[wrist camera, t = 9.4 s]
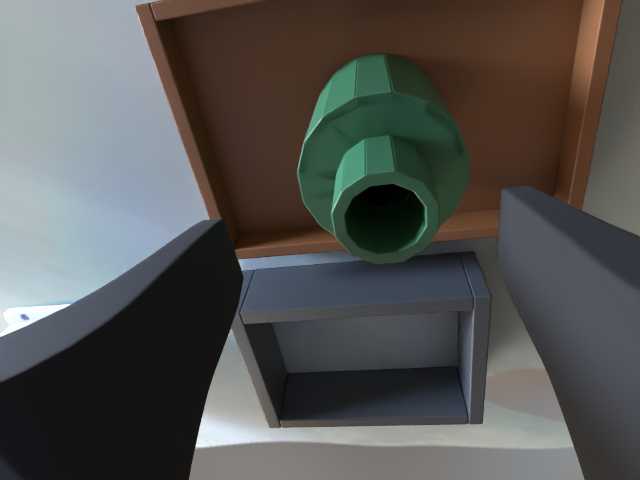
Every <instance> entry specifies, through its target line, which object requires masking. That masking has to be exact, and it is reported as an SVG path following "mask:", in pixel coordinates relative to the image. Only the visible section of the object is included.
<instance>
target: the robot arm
mask: <svg viewBox="0 0 640 480" xmlns="http://www.w3.org/2000/svg"><path fill="white" fill-rule="evenodd" d="M496 257H497V260H498V263H499V267H500V270H501V273H502V276H503V279H504V282H505V285H506V288H507V291H508V293H509V295H510V297H511V299H512V301H513V303H514V305H515V307H516V309H517V311H518V313H519V315H520V317H521V319H522V321H523V323H524V325H525V327H526V329H527V331H528V333H529V335H530V337H531V339H532V341H533V343H534V345H535V347H536V350H537V352H538V354H539V356H540V358H541V360H542V362H543V364H544V366H545V368H546V371H547V373H548V375H549V377H550V380H551V383H552V385H553V388H554V391H555V394H556V396H557V399H558V402H559V405H560V407H561V410H562V413H563V416H564V419H565V421H566V424H567V427H568V430H569V433H570V436H571V439H572V442H573V445H574V448H575V451H576V454H577V457H578V460H579V463H580V466H581V469H582V473H583V476H584V479H585V480H640V236H638V235H635V234H633V233H631V232H628V231H626V230H623V229H621V228H618V227H616V226H614V225H611V224H609V223H607V222H605V221H603V220H600V219H598V218H596V217H594V216H592V215H590V214H587V213H585V212H583V211H581V210H579V209H577V208H575V207H573V206H571V205H569V204H567V203H565V202H563V201H561V200H559V199H557V198H555V197H553V196H551V195H549V194H547V193H544V192H542V191H540V190H538V189H536V188H533V187H530V186H520V187H510V188H501V200H500V214H499V227H498V241H497V255H496ZM243 279H244V277H243V274H242V271H241V268H240V265H239V262H238V259H237V256H236V253H235V250H234V247H233V244H232V241H231V238H230V235H229V232H228V229H227V226H226V223H225V220H224V218H221V219H212V220H203V221H201V222H199V223H197V224H196V225H194V226H192V227H191V228H189V229H188V230H186V231H185V232H183V233H182V234H180V235H179V236H178V237H176V238H175V239H173V240H172V241H171V242H169V243H168V244H166V245H165V246H163V247H162V248H161V249H159V250H158V251H156V252H155V253H154V254H152V255H151V256H149V257H148V258H147V259H145V260H144V261H142V262H141V263H139V264H137V265H136V266H134V267H133V268H131V269H130V270H128V271H127V272H125V273H124V274H122V275H121V276H119V277H118V278H116V279H115V280H113V281H111V282H110V283H108V284H107V285H105V286H103V287H101V288H100V289H98V290H96V291H95V292H93V293H91V294H89V295H87V296H86V297H84V298H82V299H80V300H78V301H76V302H75V303H73V304H65V305H51V306H38V307H24V308H11V309H8V310H7V311H6V312H5V313H4V317H5V319H6V320H7V322H8V323H9V324H10V326H9V327H8V328H7V329H6V330H5V331H4V332H3V333H2V334H1V335H0V480H189V475H190V470H191V464H192V460H193V455H194V450H195V446H196V441H197V436H198V432H199V427H200V423H201V419H202V415H203V410H204V406H205V402H206V398H207V394H208V391H209V387H210V384H211V381H212V378H213V375H214V372H215V369H216V367H217V364H218V361H219V359H220V356H221V353H222V350H223V348H224V345H225V342H226V340H227V337H228V334H229V331H230V329H231V326H232V323H233V320H234V317H235V314H236V311H237V308H238V304H239V300H240V295H241V290H242V284H243Z"/></svg>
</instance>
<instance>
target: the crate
mask: <svg viewBox="0 0 640 480" xmlns="http://www.w3.org/2000/svg"><path fill="white" fill-rule="evenodd" d="M242 274H243V277H244V279H243V284H242V290H241V295H240V300H239V304H238V308H237V311H236V314H235V317H234V320H233V323H232V326H231V330H232V333H233V335H234V338H235V340H236V343H237V346H238V348H239V351H240V353H241V356H242V359H243V361H244V364H245V366H246V369H247V371H248V374H249V377H250V379H251V382H252V384H253V387H254V389H255V392H256V395H257V397H258V400H259V402H260V405H261V408H262V410H263V413H264V415H265V418H266V420H267V423H268V426H269V428H281V426H282V427H283V428H291V427H345V426H400V425H454V424H468V423H469V424H482V423H483V413H484V399H485V385H486V371H487V357H488V343H489V329H490V315H491V301H492V295H491V293H490V290H489V288H488V285H487V282H486V280H485V277H484V275H483V272H482V269H481V267H480V264H479V262H478V259H477V256H476V254H475V252H466V253H460V254H459V253H450V254H438V255H426V256H414V257H411V258H409V259H407V260H405V261H402V262H396V263H384V264H374V263H372V262H369V261H353V262H341V263H329V264H317V265H305V266H293V267H281V268H269V269H257V270H249V271H242ZM450 311H458V363H457V367H444V368H419V369H394V370H369V371H344V372H319V373H294V374H288V375H287V372H286V369H285V365H284V362H283V359H282V356H281V353H280V349H279V346H278V343H277V340H276V337H275V333H274V330H273V327H272V324H271V322H286V321H303V320H319V319H336V318H352V317H368V316H385V315H401V314H418V313H434V312H450Z"/></svg>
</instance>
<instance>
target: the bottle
mask: <svg viewBox="0 0 640 480" xmlns="http://www.w3.org/2000/svg"><path fill="white" fill-rule="evenodd" d="M297 176H298V180H299V185H300V190H301V195H302V199H303V202H304V204H305V205H306V207H307V208H308V209H309V211H310V212H311V214H312V215H313V217H314V218H315V219H316V221H317V222H318V224H319V225H320V226H321V227H323V228H324V229H326V230H327V231H329V232H330V233H332V234H333V235H335V237H336V239H337V240H338V241H339V242H340V243H341V244H342V245H343V246H344V247H345V249H346V250H347V251H348V252H349V253H350V254H351V255H353V256H355V257H358V258H360V259H363V260H366V261H369V262H372V263H374V264H384V263H396V262H402V261H405V260H407V259H409V258H411V257H413V256H414V255H416V254H418V253H420V252H422V251H423V250H425V249H426V248H427V247H428V245H429V244H430V242H431V241H432V239H433V237H434V236H435V234H436V233H437V231H438V230H439V227H440V226H441V225H442V224H443V223H444V222H445V221H446V220H447V219H448V218H449V217H450V216H452V215H453V214H454V212H455V211H456V209H457V207H458V205H459V203H460V201H461V199H462V196H463V194H464V192H465V190H466V188H467V186H468V183H469V150H468V148H467V146H466V143H465V141H464V139H463V137H462V135H461V132H460V130H459V128H458V126H457V124H456V122H455V120H454V118H453V117H452V115H451V113H450V112H449V110H448V108H447V106H446V105H445V103H444V101H443V99H442V98H441V96H440V94H439V93H438V91H437V89H436V87H435V86H434V84H433V82H432V81H431V79H430V78H429V76H427V75H426V74H425V72H424V71H423V70H422V69H421V68H420V67H418V66H417V65H416V64H414V63H413V62H411V61H409V60H408V59H406V58H403V57H400V56H398V55H393V54H388V53H374V54H368V55H363V56H360V57H358V58H355V59H353V60H351V61H349V62H347V63H346V64H344V65H343V66H342V67H340V68H339V69H338V70H337V71H336V72H335V73H334V74H333V75H332V76H331V78H330V79H329V80H328V81H327V83H326V85H325V86H324V88H323V90H322V92H321V93H320V95H319V98H318V101H317V104H316V107H315V110H314V113H313V116H312V119H311V122H310V125H309V128H308V131H307V134H306V137H305V140H304V143H303V147H302V152H301V156H300V161H299V165H298V170H297Z"/></svg>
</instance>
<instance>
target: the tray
mask: <svg viewBox="0 0 640 480" xmlns="http://www.w3.org/2000/svg"><path fill="white" fill-rule="evenodd" d="M621 5H622V0H161V1H156V2H152V3H146V4H141V5H136V6H135V10H136V13H137V16H138V18H139V21H140V24H141V27H142V30H143V32H144V35H145V38H146V41H147V44H148V47H149V49H150V52H151V55H152V58H153V61H154V63H155V66H156V69H157V72H158V75H159V77H160V80H161V83H162V86H163V89H164V91H165V94H166V97H167V100H168V103H169V106H170V108H171V111H172V114H173V117H174V120H175V122H176V125H177V128H178V131H179V134H180V136H181V139H182V142H183V145H184V148H185V150H186V153H187V156H188V159H189V162H190V165H191V167H192V170H193V173H194V176H195V179H196V181H197V184H198V187H199V190H200V193H201V195H202V198H203V201H204V204H205V207H206V209H207V212H208V215H209V218H210V220H212V219H221V218H224V220H225V223H226V226H227V229H228V232H229V235H230V238H231V241H232V244H233V247H234V250H235V253H236V256H237V259H248V258H259V257H271V256H282V255H293V254H305V253H316V252H328V251H339V250H346V249H345V247H344V246H343V245H342V244H341V243H340V242H339V241H338V240H337V239H336V237H335V235H333V234H332V233H330V232H329V231H327V230H326V229H324V228H323V227H321V226H320V225H319V224H318V222H317V221H316V219H315V218H314V217H313V215H312V214H311V212H310V211H309V209H308V208H307V207H306V205H305V204H304V202H303V199H302V195H301V190H300V185H299V180H298V176H297V170H298V165H299V161H300V156H301V152H302V147H303V143H304V140H305V137H306V134H307V131H308V128H309V125H310V122H311V119H312V116H313V113H314V110H315V107H316V104H317V101H318V98H319V95H320V93H321V92H322V90H323V88H324V86H325V85H326V83H327V81H328V80H329V79H330V78H331V76H332V75H333V74H334V73H335V72H336V71H337V70H338V69H339V68H340V67H342V66H343V65H344V64H346V63H347V62H349V61H351V60H353V59H355V58H358V57H360V56H363V55H368V54H374V53H388V54H393V55H398V56H400V57H403V58H406V59H408V60H409V61H411V62H413V63H414V64H416V65H417V66H418V67H420V68H421V69H422V70H423V71H424V72H425V74H426V75H427V76H429V78H430V79H431V81H432V82H433V84H434V86H435V87H436V89H437V91H438V93H439V94H440V96H441V98H442V99H443V101H444V103H445V105H446V106H447V108H448V110H449V112H450V113H451V115H452V117H453V118H454V120H455V122H456V124H457V126H458V128H459V130H460V132H461V135H462V137H463V139H464V141H465V143H466V146H467V148H468V150H469V183H468V186H467V188H466V190H465V192H464V194H463V196H462V199H461V201H460V203H459V205H458V207H457V209H456V211H455V212H454V214H453V215H452V216H450V217H449V218H448V219H447V220H446V221H445V222H444V223H443V224H442V225H441V226H440V227H439V230H438V231H437V233H436V234H435V236H434V237H433V239H432V241H431V242H442V241H453V240H465V239H476V238H488V237H498V227H499V214H500V200H501V188H510V187H520V186H530V187H533V188H536V189H538V190H540V191H542V192H544V193H547V194H549V195H551V196H553V197H555V198H557V199H559V200H561V201H563V202H565V203H567V204H569V205H571V206H573V207H575V208H577V209H579V210H581V211H582V206H583V201H584V196H585V190H586V185H587V180H588V175H589V170H590V165H591V160H592V154H593V149H594V144H595V139H596V134H597V129H598V124H599V118H600V113H601V108H602V103H603V98H604V93H605V87H606V82H607V77H608V72H609V67H610V62H611V57H612V51H613V46H614V41H615V36H616V31H617V26H618V21H619V15H620V10H621Z"/></svg>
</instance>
